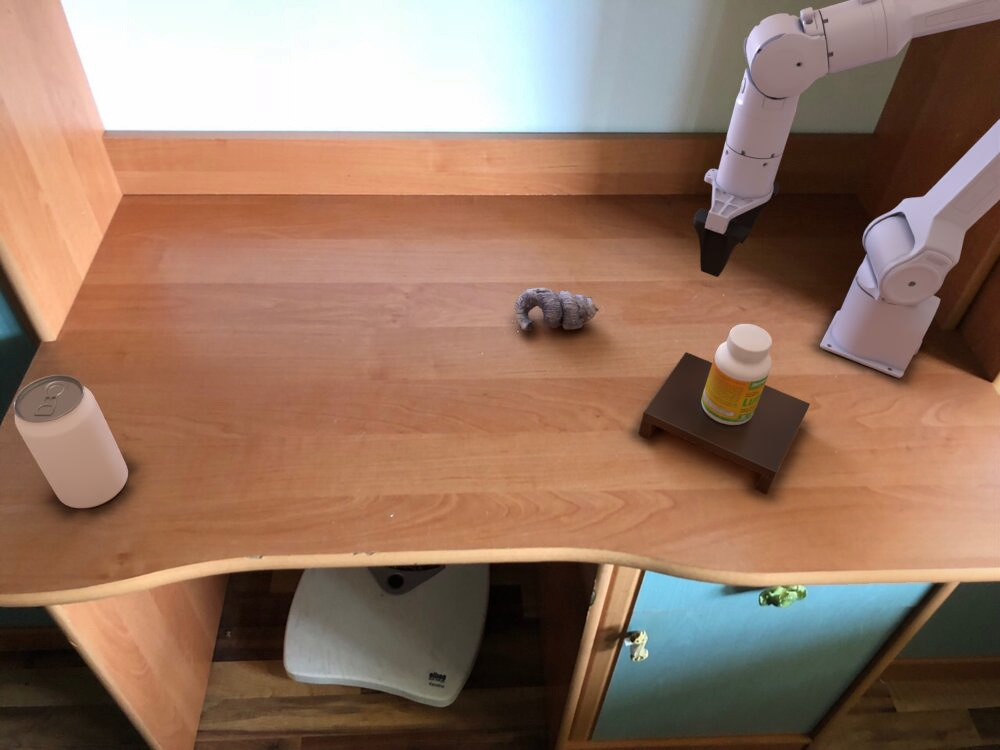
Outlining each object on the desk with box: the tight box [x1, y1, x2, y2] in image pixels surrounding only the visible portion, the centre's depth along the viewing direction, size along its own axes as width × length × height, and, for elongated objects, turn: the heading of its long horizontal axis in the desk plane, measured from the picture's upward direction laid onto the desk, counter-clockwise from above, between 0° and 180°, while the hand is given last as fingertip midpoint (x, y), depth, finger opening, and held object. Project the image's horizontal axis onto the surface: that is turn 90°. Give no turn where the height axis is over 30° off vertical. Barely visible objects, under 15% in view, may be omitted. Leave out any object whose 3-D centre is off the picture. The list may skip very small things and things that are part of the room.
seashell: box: [514, 286, 600, 332], centre depth 94 cm, size 5×5×10 cm
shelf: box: [638, 351, 811, 495], centre depth 83 cm, size 14×11×4 cm
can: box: [12, 374, 129, 509], centre depth 72 cm, size 6×6×12 cm
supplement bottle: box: [702, 323, 773, 425], centre depth 78 cm, size 5×5×10 cm
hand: (723, 255), depth 89 cm, fingers open, 7 cm apart
